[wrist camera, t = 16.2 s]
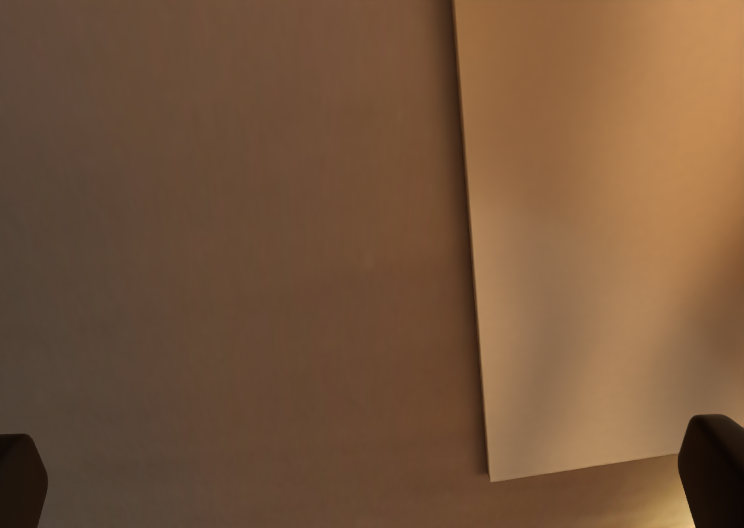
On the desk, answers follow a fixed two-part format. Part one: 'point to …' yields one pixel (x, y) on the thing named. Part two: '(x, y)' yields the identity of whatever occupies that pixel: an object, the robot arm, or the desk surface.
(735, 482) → the robot arm
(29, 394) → the desk surface
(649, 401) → the desk mat
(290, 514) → the desk surface
